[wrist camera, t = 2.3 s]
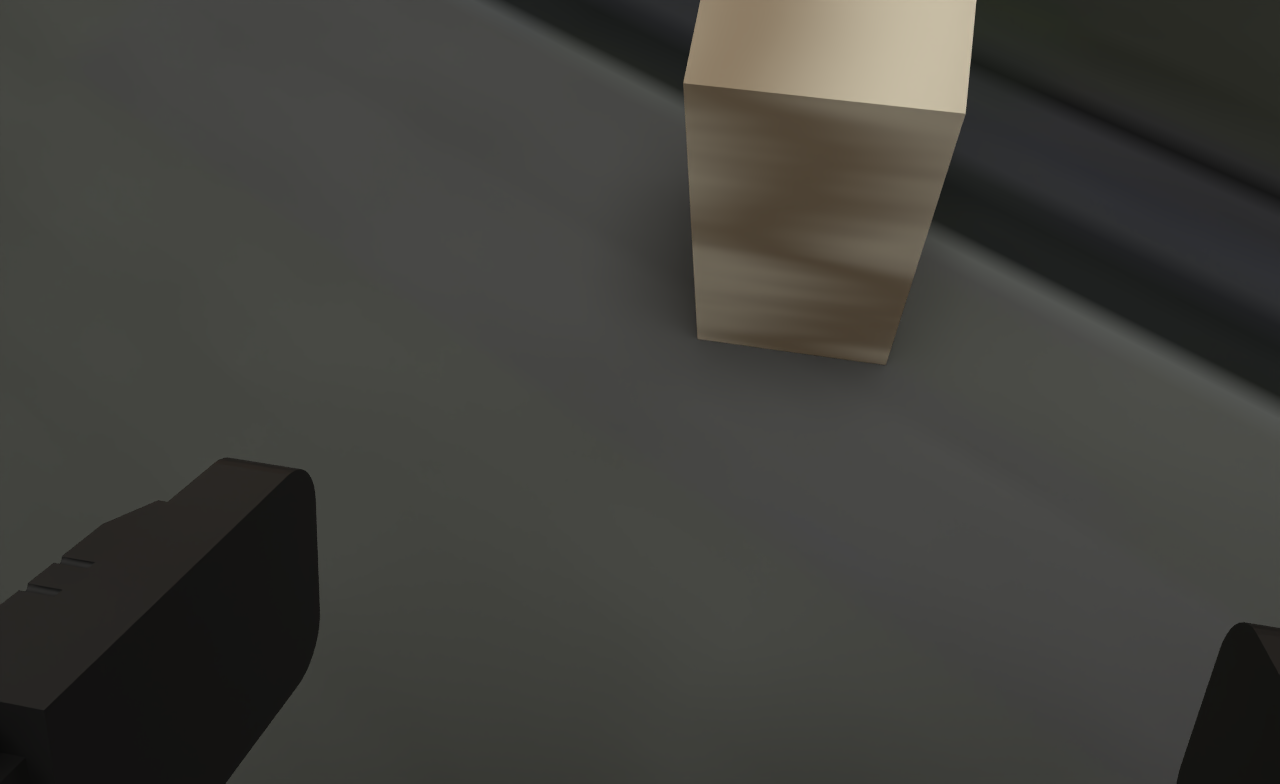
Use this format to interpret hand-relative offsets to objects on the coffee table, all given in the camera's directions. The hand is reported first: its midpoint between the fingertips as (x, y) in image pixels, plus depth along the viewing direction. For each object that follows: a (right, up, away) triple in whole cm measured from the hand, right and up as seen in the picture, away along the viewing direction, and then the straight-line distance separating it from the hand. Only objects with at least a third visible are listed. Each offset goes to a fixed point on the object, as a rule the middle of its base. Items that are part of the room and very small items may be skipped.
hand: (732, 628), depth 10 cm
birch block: (+3, +5, +19) cm, 20 cm away
